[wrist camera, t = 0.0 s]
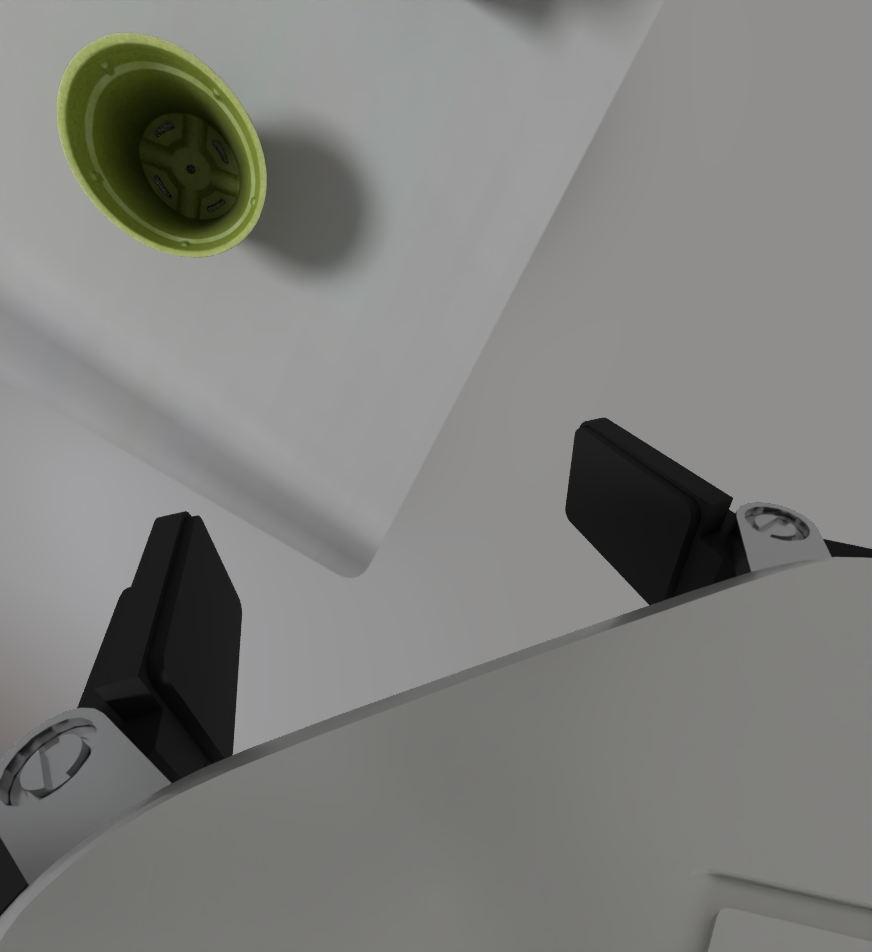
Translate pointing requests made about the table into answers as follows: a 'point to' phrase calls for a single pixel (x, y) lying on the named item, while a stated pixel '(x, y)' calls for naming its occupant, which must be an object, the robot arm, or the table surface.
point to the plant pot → (161, 145)
